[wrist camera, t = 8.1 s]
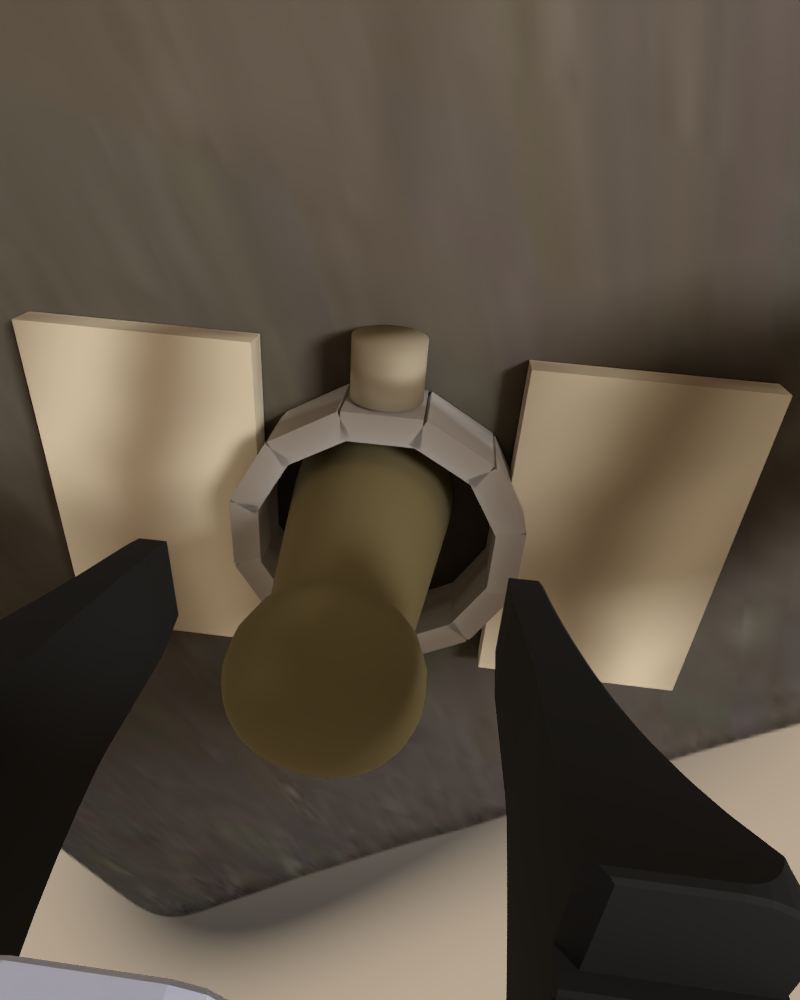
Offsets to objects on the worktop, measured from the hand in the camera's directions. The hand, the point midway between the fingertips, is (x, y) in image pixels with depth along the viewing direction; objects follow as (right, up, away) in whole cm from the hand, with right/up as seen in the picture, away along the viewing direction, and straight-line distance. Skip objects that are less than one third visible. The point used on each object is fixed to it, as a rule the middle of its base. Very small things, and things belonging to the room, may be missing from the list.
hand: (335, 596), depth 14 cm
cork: (0, +2, +11) cm, 11 cm away
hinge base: (+1, +2, +11) cm, 11 cm away
